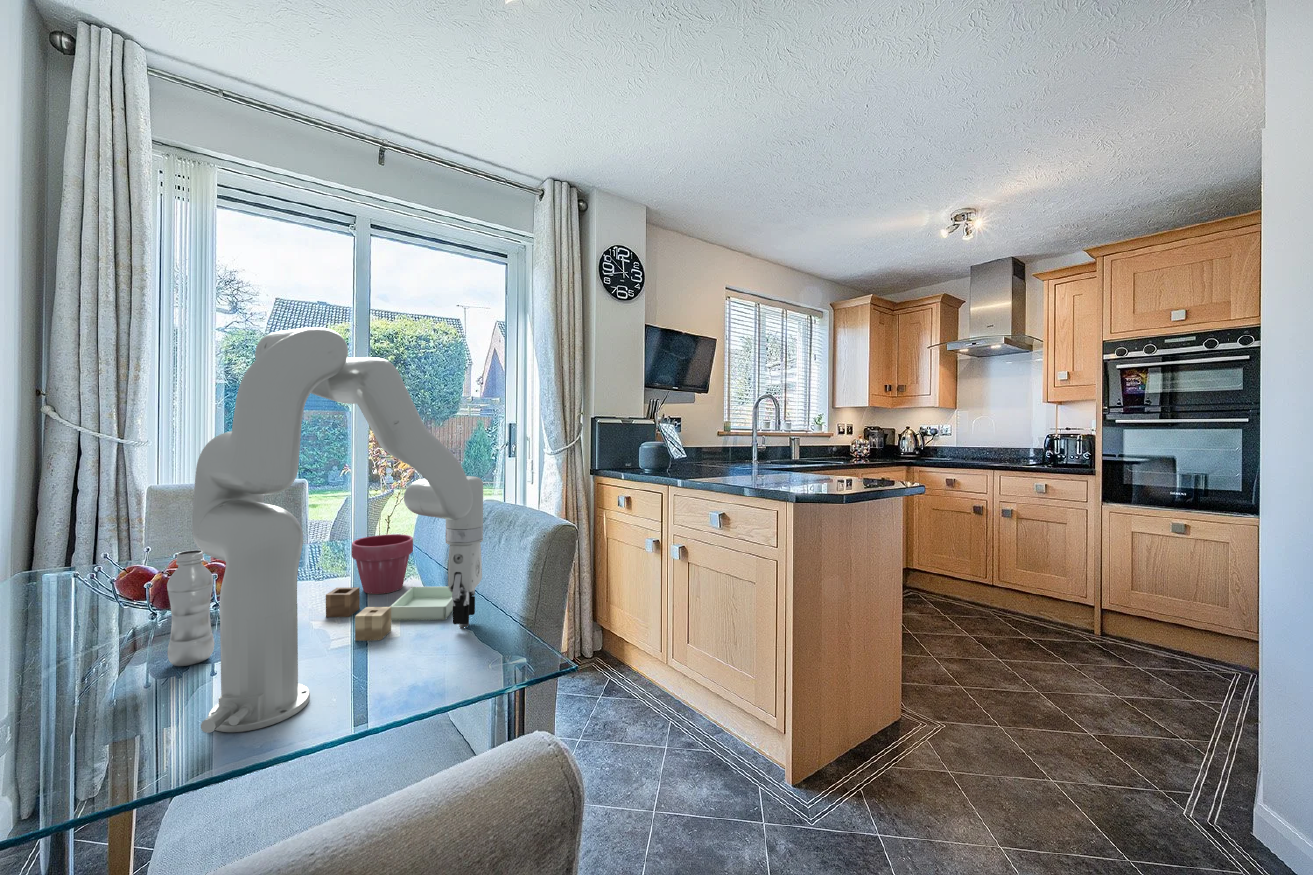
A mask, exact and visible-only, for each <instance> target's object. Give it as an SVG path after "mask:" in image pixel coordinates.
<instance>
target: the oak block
mask: <svg viewBox="0 0 1313 875" xmlns="http://www.w3.org/2000/svg"><path fill="white" fill-rule="evenodd" d="M354 621H355V622H354V624H355V625H354V634H355V636H354V637H355V638H354V639H355V640H354V641H358V642H359V641H382V640H383V639H384V638H385V637H386V636H387V635H388V634H390V632H391V631H392V620H391V607H390V606H365V607H364V608H363V609H361V611H359V612H358V613H357V614H356V615H355V617H354Z"/></svg>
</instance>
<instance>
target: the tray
mask: <svg viewBox="0 0 1313 875" xmlns="http://www.w3.org/2000/svg"><path fill="white" fill-rule="evenodd" d="M452 593H453V592H451V591H450V590H449V587H448V586H411V587H410V588H409V589H407V591H405V592H404V594H402V595H401V596H400V597H399V598H398V599H396V600H395V601H394V602H393V603H392V604H391V605H390V606H389V607H391V621H446V620H447V619H446V618H448V617H449V616H450V615H451V614H452V613H453V599H452ZM450 613H451V614H450ZM445 619H446V620H445Z"/></svg>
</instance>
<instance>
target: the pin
mask: <svg viewBox="0 0 1313 875" xmlns="http://www.w3.org/2000/svg"><path fill="white" fill-rule="evenodd" d="M461 590H465V588H464V589H461ZM460 594H461V595H463V597H464V593H460ZM467 604H469V591H468V603H467ZM469 625H470V622H469V623H468V624H458V628H459V627H460V628H459V629H465V628H464V627H467V626H469ZM469 627H470V626H469Z"/></svg>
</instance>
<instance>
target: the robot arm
mask: <svg viewBox="0 0 1313 875" xmlns="http://www.w3.org/2000/svg"><path fill="white" fill-rule="evenodd" d="M254 350H255V352H254V356H255V360H254V361H253V362H252V364H251V365H250V366H249V367H248V369H247V370H246V372H245V373H244V375H243V376H242V378H241V381H240V384H239V385H238V386H239V387H238V388H237V394H236V399H235V406H234V411H233V413H234V414H233V419H232V427H231V431H226V432H223V433H221V434H218V435H217V436H215V437H213V438H212V439H211V440H209V441H208V442H207V443H206V444H205V446H204V447H203V449H202V450H201V451H200V452H201V453H199V454H200V455H199V457H198V459H197V463H196V468H195V475H194V476H195V477H194V489H193V490H194V491H193V500H192V513H191V532H192V538H193V540H194V541H193V542H194V544H195V545H196V546H197V548H198V550H201V551H202V552H203V554H206V555H207V556H209V557H211V558H214V559H216V560H220V561H223V562H225V568H224V574H223V579H222V583H221V587H220V593H219V624H220V625H219V627H220V628H219V632H220V633H219V634H220V636H219V637H220V684H221V685H220V692H221V693H220V695H221V696H219V697H218V703H216V704H215V705H214V706H213V707H212V708H211V709H210V710H209V712H208V714H207V718H205V719H204V720H202V722H201V723H200V730H201V731H202V732H204V733H207V734H210V733H212V732H214V731H217V732H222V733H241V732H250V731H255V730H260V729H262V728H266V727H270V726H272V725H275V724H278V723H280V722H283V721H285V720H287V719H289V718H290V717H293V716H295V715H296V714H297V713H299V712H301V711H302V710H303V709H305V707H306V706H307V705H308V704H309V702H310V698H311V692H310V688H309V687H307V686H306V685H303V684H302V683H299V652H298V651H299V647H298V646H299V641H298V640H299V637H298V636H299V635H298V634H299V633H298V627H299V626H298V574H299V566H300V560H301V556H302V552H303V551H302V550H303V543H304V532H303V528H302V525H301V523H300V522H299V520H298V518H297V517H296V516H295V515H294V514H292V512H290V511H289V510H287V509H285V508H283V507H281V506H277V505H273V504H269V503H265V502H264V501H265V496H269V495H271V496H272V495H276V494H279V493H282V492H284V491H286V490H287V489H289V488H290V487H291V486H292V485H293V484H294V482H295V481H296V479H297V476H298V472H299V462H300V451H301V450H300V449H301V437H302V436H301V435H302V427H303V426H302V424H303V423H302V422H303V415H304V410H305V405H306V402H307V401H308V399H309V396H310V395H315V396H316V397H320V398H324V399H327V400H329V401H334V402H337V403H341V404H348V405H349V404H350V405H353V404H355V405H357V406H358V408H359V410H360V411H361V414H362V416H363V417H364V419H365V421H366V422H367V424H368V426H369V427H370V429H371V432H372V433H373V435H374V438H375V440H376V441H377V443H378V445H379V447H380V448H381V449H383V450H384V451H385V452H387V453H388V454H389V455H391V457H394V458H396V460H397V459H398V460H399V461H400V462H402V463H404V464H407V465H408V466H410V467H411V468H413V469H414V470H415V471H416V472H417V473H419V474H420V476H422V477H423V478H420V479H416V480H415V481H413V482H411V483H410V484H409V485H407V486H408V487H406V488H405V491H404V495H403V502H404V504H405V506H406V507H407V509H408V510H409V511H410V512H412V513H414V514H416V515H419V516H423V517H431V518H437V519H438V518H439V519H443V520H445V544H447V545H449V550H448V551H449V552H448V564H447V565H448V566H447V567H448V568H447V569H448V570H447V572H448V573H447V575H448V576H447V583H448V584H447V585H448V586H447V587H449V590H450V591H451V592H453V593H452V599H453V611H452V624H453V625H459V624H468V623H469V624H470V616H474V615H475V614H476V596H475V595H476V588H477V587H478V585H479V584H480V583H481V581H482V580H483V568H482V567H483V566H482V563H483V561H482V546H481V543H482V542H484V482H483V480H482V479H481V478H480V477H478V476H473V475H466V473H465V471H464V468H463V466H462V465H461V464H460V462H459V460H458V459H457V458H456V456H455V455H454V454H453V453H452V452H451V451H450V449H448V448H447V447H446V446H445V444H444V443H442V442H441V441H440V440H439V439H438V438H437V437H436V436H435V435H434V434H433V433H431V432H430V431H429V430H428V428H427V427H426V425H425V424H424V422H423V420H422V418H421V416H420V414H419V411H418V409H417V407H416V405H415V403H414V402H413V399H412V397H411V395H410V393H409V391H408V388H407V387H406V385H405V383H404V380H403V379H402V377H401V374H400V373H399V371H398V369H397V368H396V367H395V365H394V364H393V363H392V362H391V361H389V360H388V359H385V358H381V357H372V356H366V357H364V356H363V357H349V348H348V344H347V341H346V340H345V339H344V337H343V336H342V335H341V334H340V333H338V332H336V331H335V330H333V329H330V328H326V327H320V326H319V327H318V326H312V327H301V328H300V327H299V328H295V329H293V328H292V329H286V330H284V329H283V330H278V331H274V332H270V333H268V334H267V335H265V336H263V337H262V338H260V340H259V341H258V343H257V345H256V347H255V349H254ZM464 588H465V590H461V589H464ZM468 591H469V604H467V603H468ZM460 593H464V597H463V595H461V594H460Z"/></svg>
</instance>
